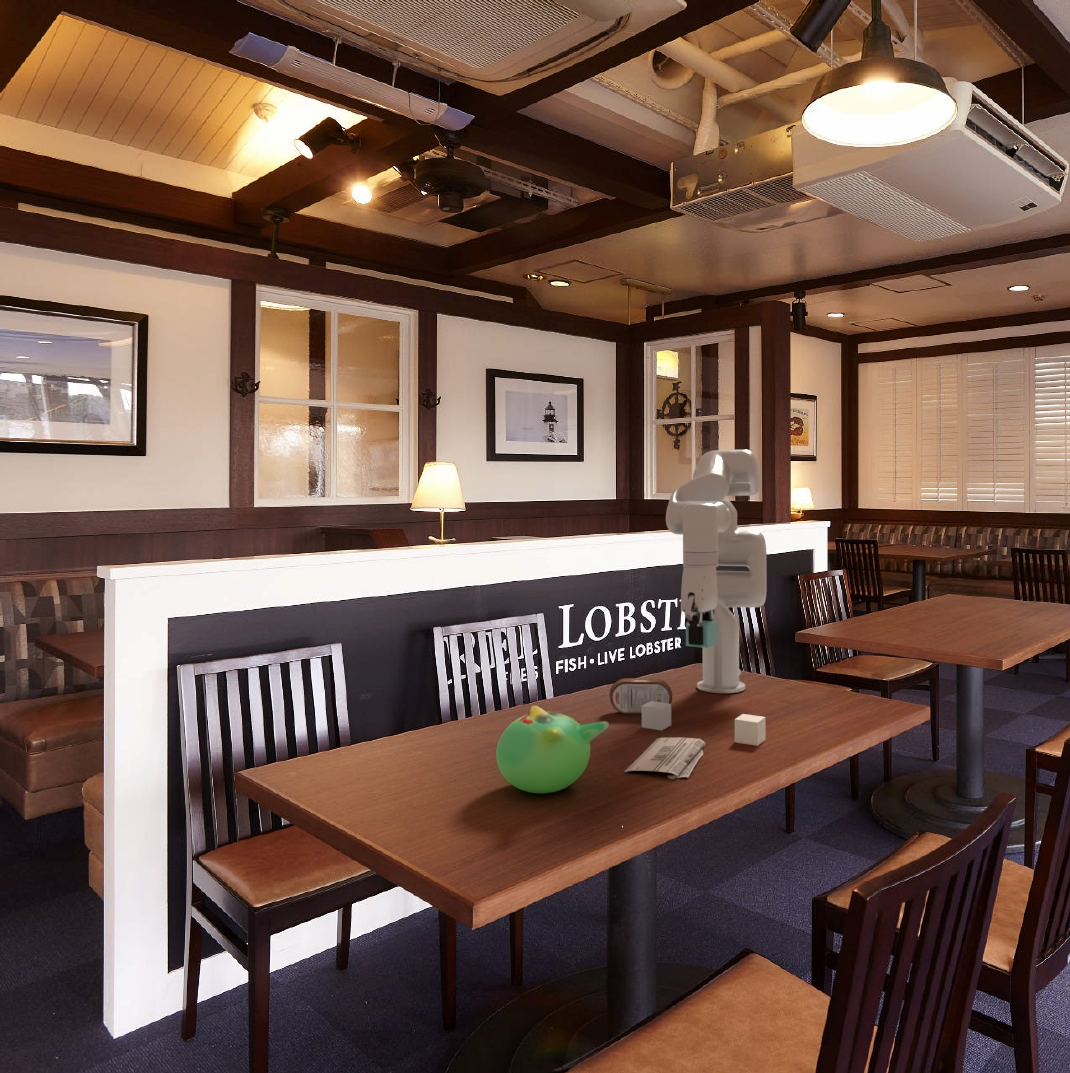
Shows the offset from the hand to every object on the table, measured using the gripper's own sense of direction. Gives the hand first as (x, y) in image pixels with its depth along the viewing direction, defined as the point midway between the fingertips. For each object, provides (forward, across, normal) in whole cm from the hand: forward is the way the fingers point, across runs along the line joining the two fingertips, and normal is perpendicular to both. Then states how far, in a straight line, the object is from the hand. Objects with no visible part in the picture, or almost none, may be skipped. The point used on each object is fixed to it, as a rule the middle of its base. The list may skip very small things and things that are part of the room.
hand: (701, 641), depth 186 cm
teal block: (+1, 0, 0) cm, 1 cm away
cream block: (+21, 0, +11) cm, 23 cm away
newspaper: (+21, +20, +2) cm, 29 cm away
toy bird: (+21, +47, -10) cm, 52 cm away
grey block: (+21, 0, -11) cm, 23 cm away
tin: (+21, -8, -19) cm, 29 cm away
